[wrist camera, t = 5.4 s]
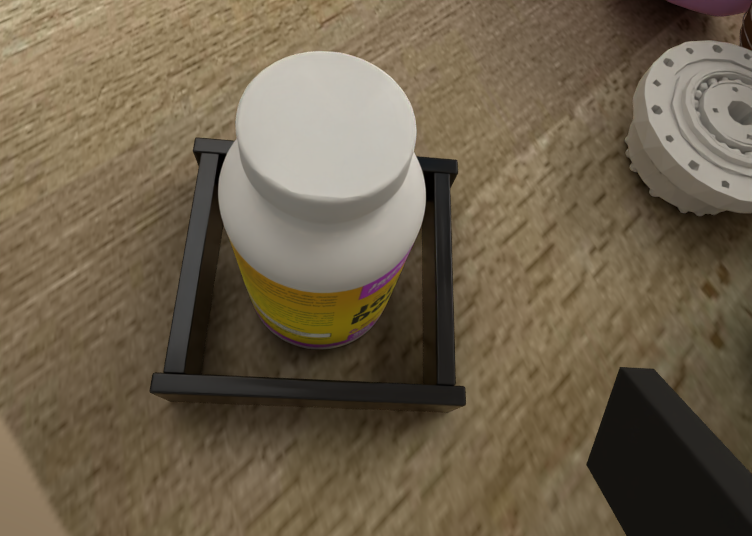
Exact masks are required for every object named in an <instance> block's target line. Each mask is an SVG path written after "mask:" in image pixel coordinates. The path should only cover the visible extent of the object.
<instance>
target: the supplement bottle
mask: <svg viewBox="0 0 752 536" xmlns="http://www.w3.org/2000/svg"><path fill="white" fill-rule="evenodd" d="M235 124H236V136H237V139H236V140H235V142H234V143H233V145H232V146H231V148H230V149H229V151H228V153H227V155H226V158H225V160H224V163H223V166H222V169H221V173H220V177H219V186H218V200H219V208H220V213H221V217H222V220H223V224H224V227H225V230H226V232H227V235H228V237H229V240H230V243H231V245H232V248H233V251H234V254H235V257H236V260H237V262H238V265H239V268H240V271H241V274H242V277H243V280H244V283H245V286H246V288H247V291H248V294H249V296H250V299H251V302H252V304H253V307H254V309H255V311H256V313H257V315H258V316H259V318H260V319H261V321H262V322H263V323H264V324H265V326H266V327H267V328H268V329H269V330H270V331H271V332H272V333H274V334H275V335H276V336H278V337H279V338H281V339H282V340H284V341H286V342H288V343H290V344H293V345H296V346H299V347H303V348H308V349H332V348H336V347H341V346H343V345H346V344H349V343H351V342H353V341H355V340H357V339H358V338H360V337H361V336H363V335H364V334H365V333H366V332H368V331H369V330H370V329H371V328H372V327H373V325H374V324H375V323H376V322H377V320H378V319H379V317H380V316H381V314H382V312H383V310H384V308H385V307H386V305H387V302H388V300H389V298H390V296H391V294H392V291H393V289H394V287H395V285H396V283H397V281H398V278H399V276H400V273H401V271H402V269H403V266H404V264H405V261H406V259H407V257H408V255H409V252H410V250H411V248H412V246H413V244H414V242H415V240H416V237H417V235H418V232H419V230H420V227H421V224H422V221H423V217H424V212H425V206H426V189H425V182H424V177H423V172H422V169H421V167H420V164H419V162H418V159H417V157H416V155H415V153H414V148H415V143H416V132H417V131H416V121H415V116H414V112H413V109H412V106H411V104H410V102H409V100H408V98H407V96H406V95H405V93H404V92H403V90H402V89H401V88H400V86H399V85H398V84H397V83H396V82H395V81H394V80H393V79H392V78H391V77H390V76H389V75H388V74H387V73H385V72H384V71H383V70H381V69H380V68H378V67H377V66H375V65H373V64H371V63H369V62H367V61H365V60H363V59H360V58H357V57H355V56H351V55H348V54H343V53H339V52H326V51H313V52H305V53H300V54H295V55H292V56H289V57H286V58H283V59H281V60H279V61H277V62H275V63H273V64H271V65H270V66H268V67H267V68H265V69H264V70H263V71H261V72H260V73H259V74H258V75H257V76H256V77H255V78H254V79H253V80H252V81H251V82H250V84H249V85H248V86H247V88H246V89H245V91H244V93H243V95H242V97H241V99H240V102H239V105H238V109H237V114H236V122H235Z"/></svg>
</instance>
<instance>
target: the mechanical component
mask: <svg viewBox="0 0 752 536" xmlns="http://www.w3.org/2000/svg"><path fill="white" fill-rule="evenodd" d="M633 116H634V118H633V120H632V123H631V125H630V127H629V132H628V135H627V137H626V138H625V142H626V143H627V145H628V149H627V150H626V152H625V154H626V156H627V157H629V158H630V160H631V161H632V164H631V165H630V169H631V170H632V171H634V172H638V174H639V175H640V177H641V179H642V180H643V182H644V183H645V184H646V185H647V186H648V187H649V188H650V192H649V193H650V194H651V196H653V197H658V196H659V197H660V198H662V199H664V200H665V201H667V202H668V203H670V204H672V205H674V206H677V207H678V209H679V210H680V212H681V213H687V212H688V211H690V212H694V213H695V214H696V215H697V216H702V215H704V214H712V215H715V214H718V213H719V212H723V211H726V210H728V211H733V212H738V213H752V51H751V50H749V49H746V48H743V47H740V46H737V45H734V44H731V43H725V42H719V41H713V40H709V41H689V42H685V43H683V44H680V45H678V46H676V47H673V48H671V49H669V50H667V51H666V52H665V53H664V54H663V55H662V56H661V57H660V58H658V59H657V60H656V61H655V62H654V63H653V64H652V65H651V67H650V68H649V69H648V70H647V71H646V73H645V74H644V75H643V77H642V78H641V79H640V81H639V83H638V85H637V88H636V91H635V93H634V96H633Z"/></svg>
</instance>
